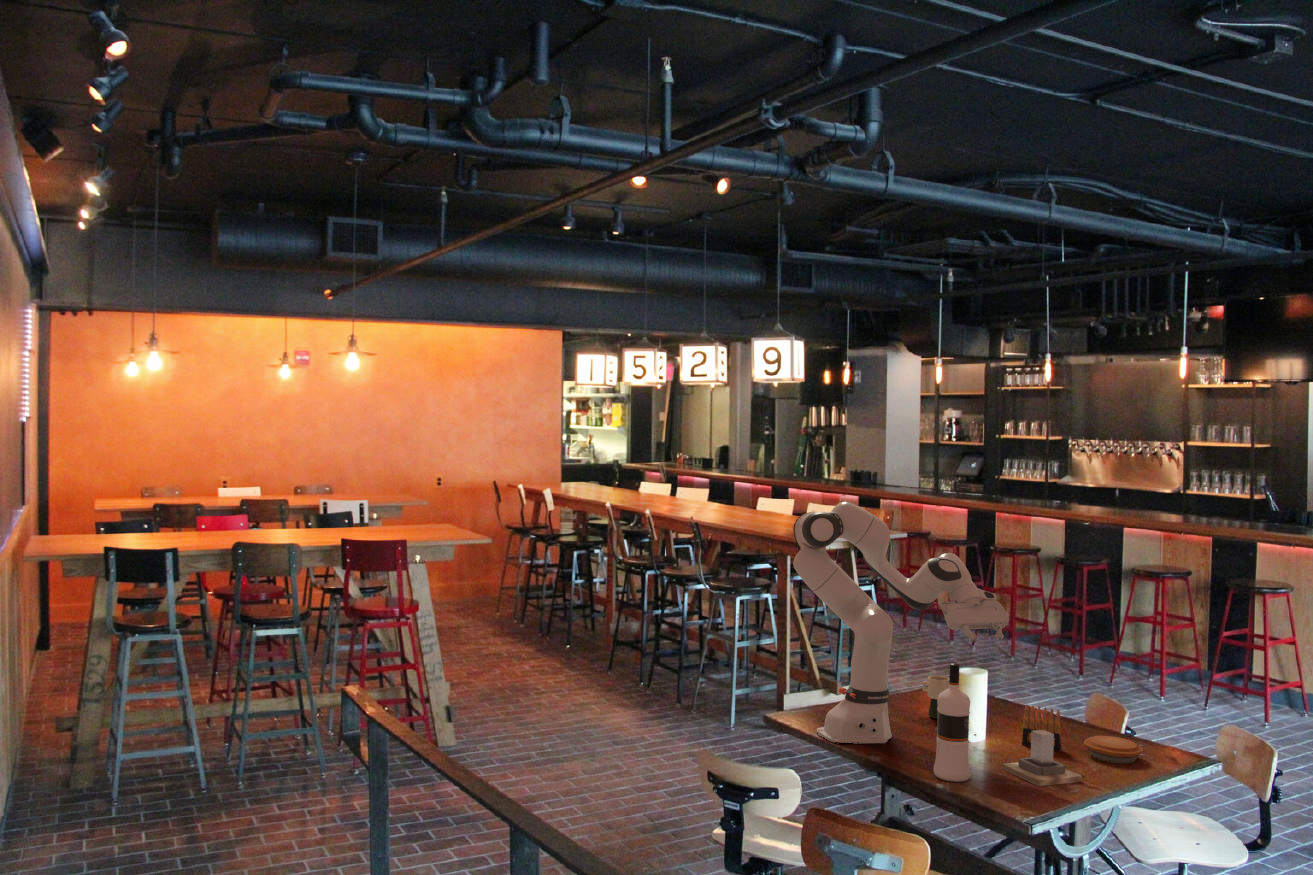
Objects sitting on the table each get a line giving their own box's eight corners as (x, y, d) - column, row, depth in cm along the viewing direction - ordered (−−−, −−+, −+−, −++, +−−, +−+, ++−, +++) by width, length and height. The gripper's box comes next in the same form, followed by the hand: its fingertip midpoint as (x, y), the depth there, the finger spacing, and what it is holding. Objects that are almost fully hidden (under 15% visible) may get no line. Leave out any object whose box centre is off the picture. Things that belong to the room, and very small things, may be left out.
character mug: (958, 718, 322) (959, 678, 322) (951, 723, 316) (952, 682, 316) (925, 712, 328) (926, 673, 328) (918, 717, 322) (919, 677, 322)
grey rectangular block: (1040, 772, 265) (1041, 734, 265) (1030, 767, 268) (1031, 730, 268) (1053, 771, 266) (1054, 733, 266) (1042, 766, 270) (1043, 729, 270)
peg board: (1038, 786, 258) (1038, 772, 258) (1002, 769, 271) (1003, 756, 271) (1081, 781, 263) (1081, 768, 263) (1044, 765, 276) (1044, 752, 276)
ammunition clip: (1021, 744, 295) (1022, 704, 295) (1023, 743, 297) (1024, 703, 297) (1060, 751, 289) (1061, 710, 289) (1061, 750, 291) (1062, 709, 291)
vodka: (929, 770, 268) (932, 659, 268) (964, 771, 268) (967, 660, 268) (938, 782, 259) (942, 666, 259) (974, 783, 259) (977, 667, 259)
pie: (1136, 752, 291) (1136, 735, 291) (1148, 769, 276) (1148, 751, 276) (1079, 747, 295) (1080, 730, 295) (1088, 762, 280) (1088, 745, 280)
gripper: (943, 595, 297) (962, 634, 287) (999, 593, 304) (1020, 631, 294) (933, 607, 301) (952, 646, 292) (989, 605, 308) (1010, 643, 298)
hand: (987, 639), depth 293 cm, fingers open, 8 cm apart
